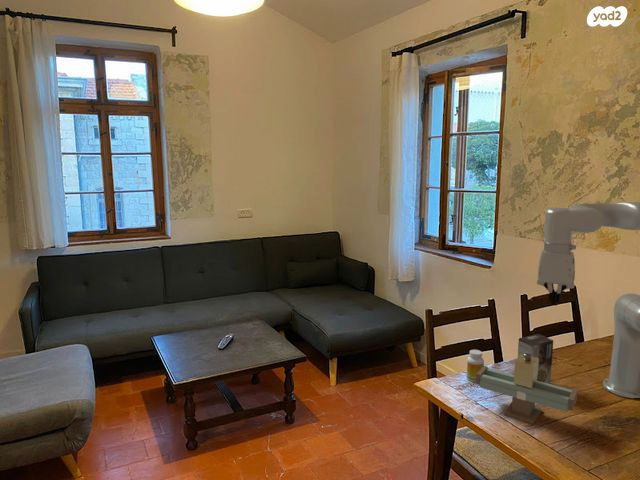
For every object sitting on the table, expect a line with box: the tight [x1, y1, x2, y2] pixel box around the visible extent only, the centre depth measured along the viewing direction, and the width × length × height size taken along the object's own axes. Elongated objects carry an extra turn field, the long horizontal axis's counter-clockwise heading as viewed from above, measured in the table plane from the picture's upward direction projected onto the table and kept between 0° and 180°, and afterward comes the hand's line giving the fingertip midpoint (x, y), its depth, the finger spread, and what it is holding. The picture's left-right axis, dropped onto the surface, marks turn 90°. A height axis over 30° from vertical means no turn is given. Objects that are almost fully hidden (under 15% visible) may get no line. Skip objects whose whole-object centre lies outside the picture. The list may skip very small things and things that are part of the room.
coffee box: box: [517, 333, 554, 384], centre depth 158 cm, size 9×6×16 cm
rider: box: [513, 353, 539, 388], centre depth 140 cm, size 5×6×10 cm
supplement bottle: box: [466, 349, 485, 383], centre depth 163 cm, size 5×5×10 cm
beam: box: [475, 365, 579, 425], centre depth 142 cm, size 26×9×10 cm, turn 53°
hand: (554, 304), depth 153 cm, fingers closed
